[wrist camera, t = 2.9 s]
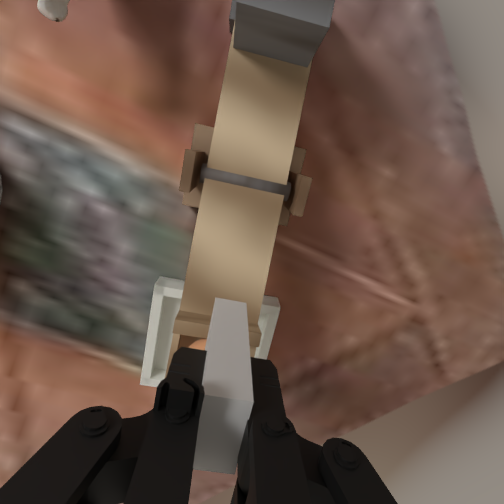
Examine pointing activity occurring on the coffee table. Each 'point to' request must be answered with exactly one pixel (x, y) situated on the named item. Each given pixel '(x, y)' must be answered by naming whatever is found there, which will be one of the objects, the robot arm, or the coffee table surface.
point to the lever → (249, 161)
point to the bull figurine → (53, 9)
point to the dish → (163, 322)
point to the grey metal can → (0, 188)
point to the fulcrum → (201, 155)
